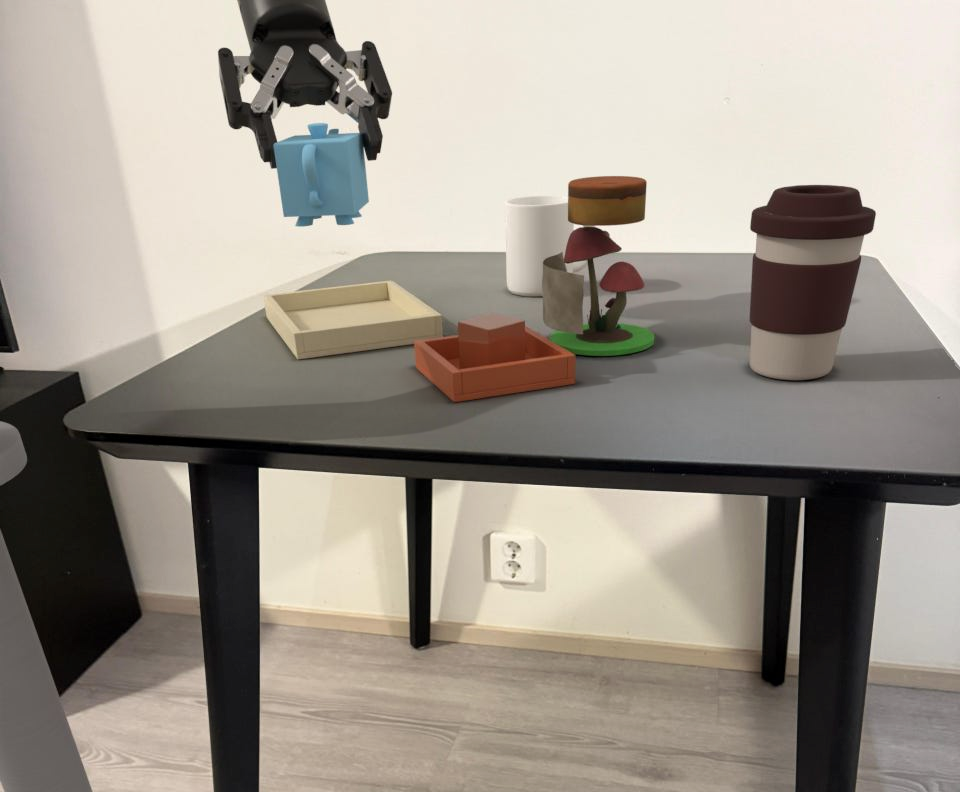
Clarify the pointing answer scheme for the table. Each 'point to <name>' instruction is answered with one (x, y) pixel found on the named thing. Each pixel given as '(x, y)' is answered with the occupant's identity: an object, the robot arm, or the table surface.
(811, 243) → the coffee cup
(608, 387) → the table surface
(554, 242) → the mug
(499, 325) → the clay block
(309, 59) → the robot arm
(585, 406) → the table surface
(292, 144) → the teapot
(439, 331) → the cream tray
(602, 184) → the mushroom figurine
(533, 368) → the terracotta tray
